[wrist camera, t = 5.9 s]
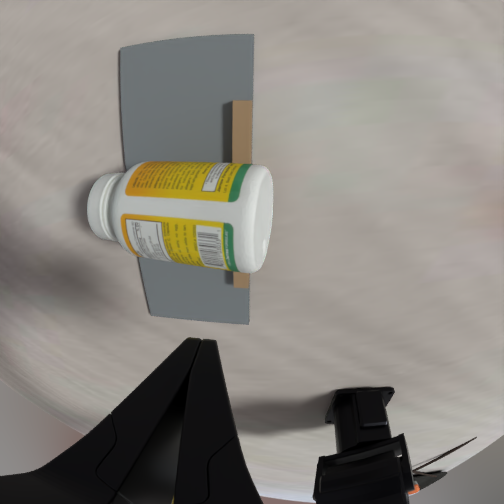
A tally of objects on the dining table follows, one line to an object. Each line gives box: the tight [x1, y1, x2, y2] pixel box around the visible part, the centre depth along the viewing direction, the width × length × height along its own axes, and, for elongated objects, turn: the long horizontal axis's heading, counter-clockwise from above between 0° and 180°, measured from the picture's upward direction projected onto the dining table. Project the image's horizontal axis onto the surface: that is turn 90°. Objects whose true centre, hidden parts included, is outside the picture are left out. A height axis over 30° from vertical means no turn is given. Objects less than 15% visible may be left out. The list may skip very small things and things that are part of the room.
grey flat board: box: [120, 34, 254, 325], centre depth 18 cm, size 20×8×1 cm, turn 179°
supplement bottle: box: [87, 161, 273, 273], centre depth 16 cm, size 5×5×10 cm
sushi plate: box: [408, 437, 477, 494], centre depth 42 cm, size 29×30×4 cm
